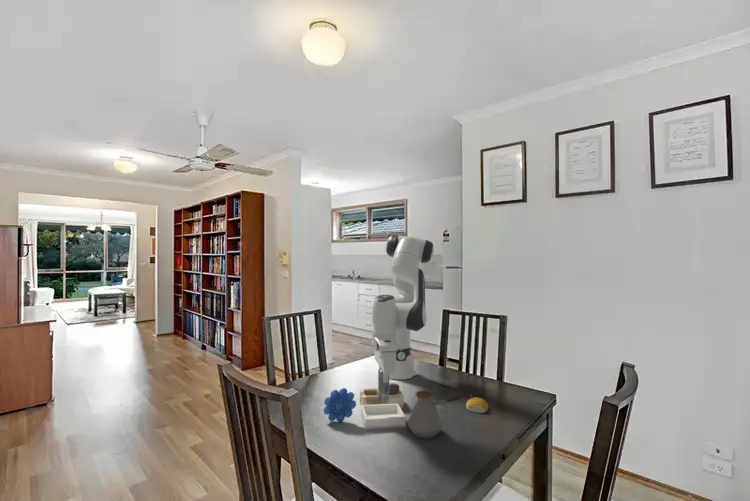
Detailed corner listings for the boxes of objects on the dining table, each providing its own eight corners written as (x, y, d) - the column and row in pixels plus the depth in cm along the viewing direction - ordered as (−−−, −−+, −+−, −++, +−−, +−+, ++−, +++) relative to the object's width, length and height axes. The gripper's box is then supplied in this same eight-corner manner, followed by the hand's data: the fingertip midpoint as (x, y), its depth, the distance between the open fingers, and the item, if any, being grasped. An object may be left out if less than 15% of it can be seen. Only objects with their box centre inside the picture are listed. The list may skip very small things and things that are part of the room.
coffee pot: (404, 437, 121) (404, 391, 121) (411, 422, 132) (412, 380, 132) (471, 448, 114) (472, 399, 115) (473, 432, 125) (474, 387, 126)
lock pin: (377, 399, 134) (377, 368, 135) (388, 398, 135) (388, 368, 135) (379, 403, 131) (379, 372, 131) (390, 402, 131) (390, 371, 131)
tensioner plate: (359, 401, 150) (359, 381, 150) (398, 399, 153) (398, 379, 153) (362, 410, 141) (362, 389, 141) (403, 408, 144) (403, 387, 144)
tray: (360, 414, 138) (361, 405, 138) (397, 412, 140) (398, 403, 140) (365, 429, 126) (365, 419, 126) (405, 427, 128) (405, 417, 128)
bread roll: (488, 406, 148) (488, 396, 148) (487, 415, 140) (487, 404, 140) (467, 403, 151) (467, 393, 151) (464, 411, 142) (465, 401, 142)
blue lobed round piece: (357, 417, 135) (357, 384, 136) (355, 425, 129) (355, 391, 129) (325, 416, 136) (326, 383, 136) (321, 424, 130) (322, 389, 130)
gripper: (371, 335, 143) (370, 371, 143) (380, 347, 123) (380, 389, 123) (387, 334, 144) (386, 370, 144) (399, 347, 124) (398, 389, 124)
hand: (383, 379), depth 133 cm, fingers closed on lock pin, 4 cm apart
